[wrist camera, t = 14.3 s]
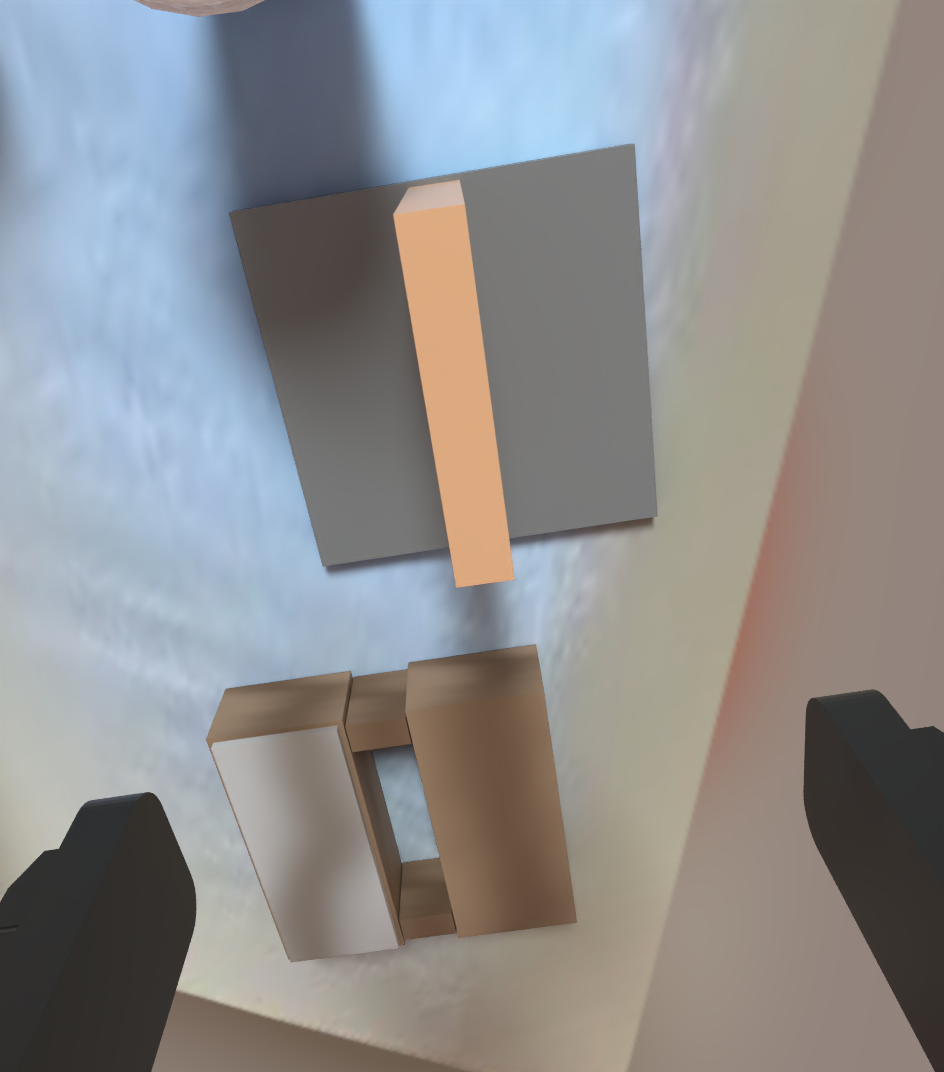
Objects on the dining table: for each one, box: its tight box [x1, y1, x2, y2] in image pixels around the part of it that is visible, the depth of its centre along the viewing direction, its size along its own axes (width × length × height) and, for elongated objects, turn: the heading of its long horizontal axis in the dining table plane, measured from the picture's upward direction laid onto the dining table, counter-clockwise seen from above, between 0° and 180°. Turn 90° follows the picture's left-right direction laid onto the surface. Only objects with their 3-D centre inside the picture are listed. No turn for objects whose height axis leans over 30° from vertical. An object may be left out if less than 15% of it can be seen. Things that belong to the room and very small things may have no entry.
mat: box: [229, 144, 657, 566], centre depth 27 cm, size 12×12×1 cm
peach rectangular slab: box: [393, 180, 515, 588], centre depth 23 cm, size 2×8×9 cm
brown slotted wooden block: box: [206, 644, 577, 962], centre depth 34 cm, size 12×12×3 cm
